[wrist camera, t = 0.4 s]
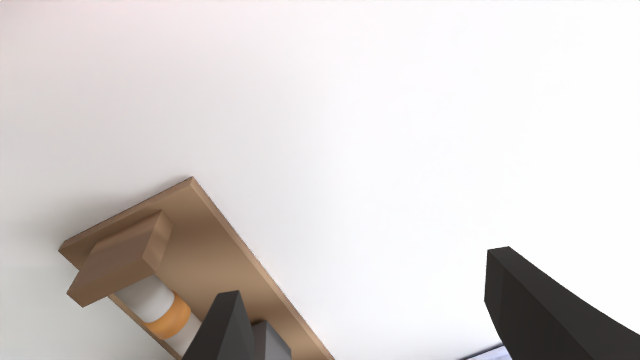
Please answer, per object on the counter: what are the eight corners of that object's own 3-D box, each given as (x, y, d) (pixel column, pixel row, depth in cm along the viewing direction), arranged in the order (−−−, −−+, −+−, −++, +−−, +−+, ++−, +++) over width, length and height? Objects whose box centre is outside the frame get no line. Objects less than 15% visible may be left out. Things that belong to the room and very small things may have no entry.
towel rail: (345, 373, 30) (354, 437, 26) (245, 411, 31) (241, 478, 28) (192, 176, 22) (174, 229, 18) (64, 241, 23) (21, 303, 19)
